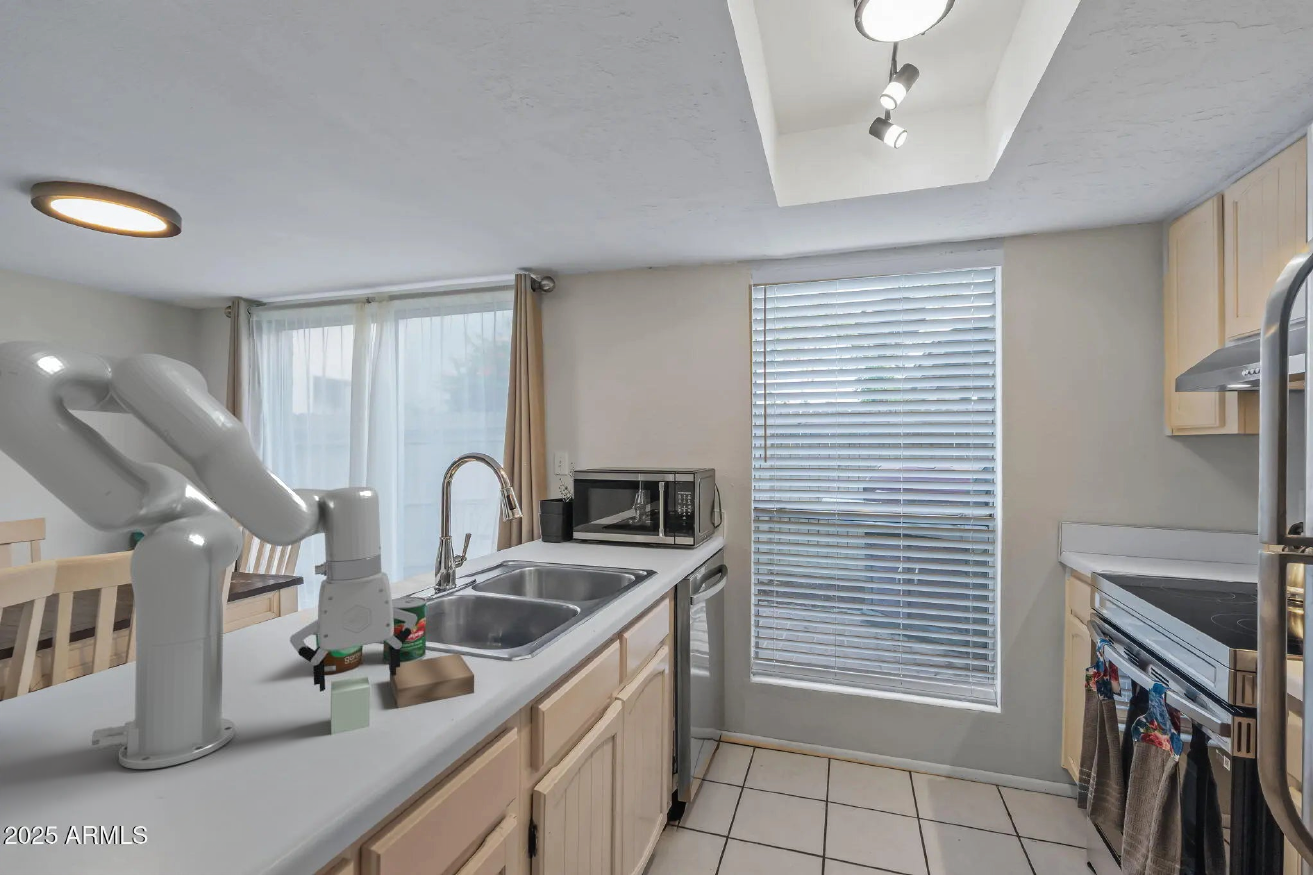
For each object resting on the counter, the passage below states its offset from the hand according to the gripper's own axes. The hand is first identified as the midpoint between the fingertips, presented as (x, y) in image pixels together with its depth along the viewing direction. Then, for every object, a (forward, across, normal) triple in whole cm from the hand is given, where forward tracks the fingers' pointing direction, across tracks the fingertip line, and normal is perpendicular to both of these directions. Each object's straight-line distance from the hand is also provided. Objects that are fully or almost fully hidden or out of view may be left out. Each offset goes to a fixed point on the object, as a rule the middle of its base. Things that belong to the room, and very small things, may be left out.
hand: (358, 680), depth 90 cm
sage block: (+6, -1, 0) cm, 7 cm away
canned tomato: (+7, +10, +26) cm, 29 cm away
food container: (+6, 0, +26) cm, 27 cm away
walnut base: (+7, +12, +8) cm, 16 cm away
